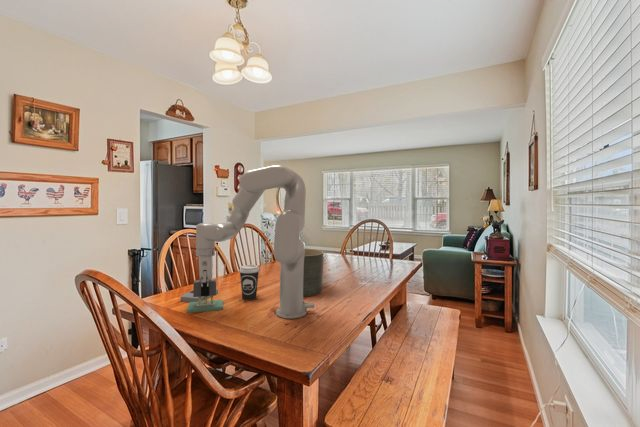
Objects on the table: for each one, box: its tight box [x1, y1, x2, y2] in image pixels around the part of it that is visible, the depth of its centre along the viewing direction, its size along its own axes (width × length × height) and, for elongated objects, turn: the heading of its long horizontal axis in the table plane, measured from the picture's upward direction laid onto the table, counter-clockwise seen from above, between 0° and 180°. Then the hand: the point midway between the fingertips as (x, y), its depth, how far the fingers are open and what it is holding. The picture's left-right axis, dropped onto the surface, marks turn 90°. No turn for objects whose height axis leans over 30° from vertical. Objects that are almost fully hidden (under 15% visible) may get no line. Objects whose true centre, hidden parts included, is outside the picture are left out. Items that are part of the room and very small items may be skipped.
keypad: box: [180, 288, 219, 303], centre depth 144 cm, size 10×4×15 cm
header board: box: [186, 296, 224, 314], centre depth 130 cm, size 14×10×5 cm
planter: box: [303, 248, 325, 298], centre depth 156 cm, size 22×22×20 cm
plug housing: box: [192, 278, 217, 297], centre depth 130 cm, size 9×4×6 cm, turn 108°
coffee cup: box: [238, 264, 261, 301], centre depth 143 cm, size 10×10×15 cm
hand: (205, 293), depth 130 cm, fingers closed on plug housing, 4 cm apart
